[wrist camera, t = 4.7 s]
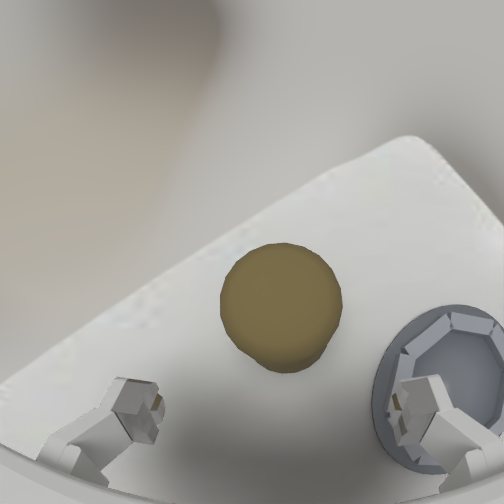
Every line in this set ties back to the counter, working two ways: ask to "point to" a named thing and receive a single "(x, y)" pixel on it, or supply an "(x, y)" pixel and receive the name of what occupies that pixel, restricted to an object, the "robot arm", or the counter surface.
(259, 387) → the counter surface
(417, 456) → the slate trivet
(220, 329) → the counter surface
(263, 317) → the olive brown pepper mill
